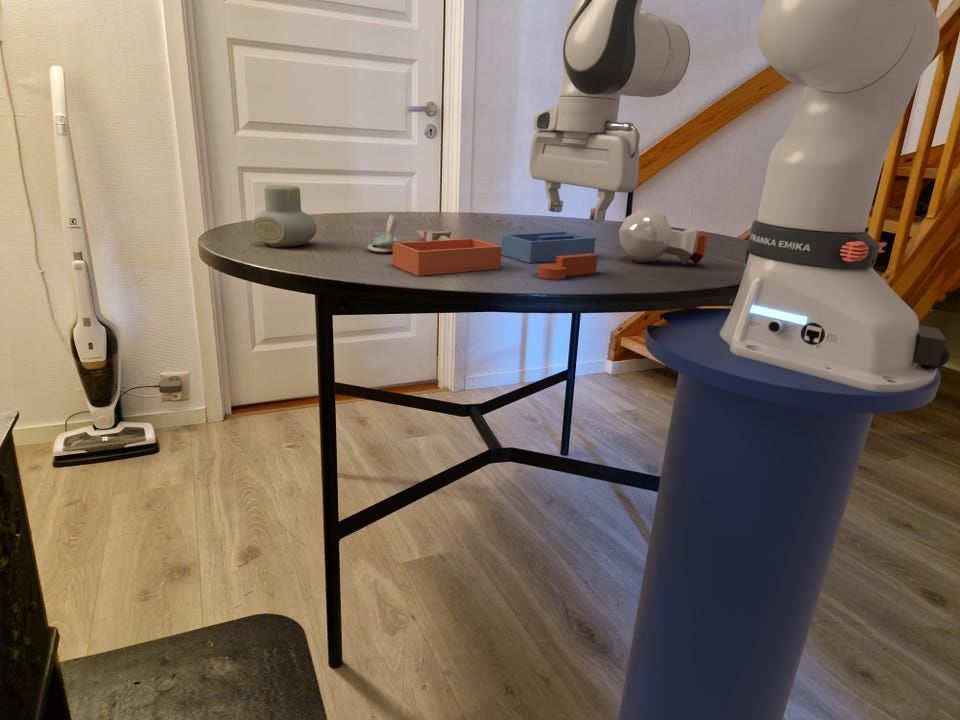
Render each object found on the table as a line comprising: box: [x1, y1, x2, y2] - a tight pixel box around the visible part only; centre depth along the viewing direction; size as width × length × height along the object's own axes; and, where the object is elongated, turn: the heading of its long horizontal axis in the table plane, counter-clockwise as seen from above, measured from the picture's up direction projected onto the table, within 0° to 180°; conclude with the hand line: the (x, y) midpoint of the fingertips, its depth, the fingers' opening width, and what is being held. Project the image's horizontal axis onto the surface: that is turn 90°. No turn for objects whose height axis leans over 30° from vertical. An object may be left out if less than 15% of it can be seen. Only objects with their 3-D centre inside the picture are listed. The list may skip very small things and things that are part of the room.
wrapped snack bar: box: [415, 229, 452, 241], centre depth 115 cm, size 4×3×20 cm
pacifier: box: [366, 214, 403, 253], centre depth 108 cm, size 7×6×6 cm
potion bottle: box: [618, 208, 709, 266], centre depth 111 cm, size 9×10×15 cm
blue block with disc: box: [537, 234, 574, 241], centre depth 112 cm, size 11×4×3 cm, turn 125°
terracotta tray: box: [392, 238, 502, 277], centre depth 98 cm, size 8×15×4 cm, turn 125°
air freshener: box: [250, 184, 318, 248], centre depth 108 cm, size 11×8×10 cm
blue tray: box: [501, 230, 596, 264], centre depth 112 cm, size 8×15×4 cm, turn 125°
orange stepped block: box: [537, 253, 599, 281], centre depth 97 cm, size 11×4×3 cm, turn 125°
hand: (575, 216), depth 95 cm, fingers open, 8 cm apart
